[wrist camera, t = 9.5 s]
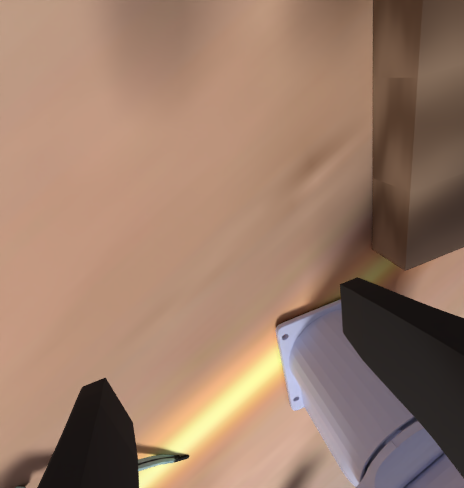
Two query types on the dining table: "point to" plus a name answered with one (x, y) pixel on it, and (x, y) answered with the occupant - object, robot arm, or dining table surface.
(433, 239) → the socket block
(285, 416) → the dining table surface
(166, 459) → the sunglasses
